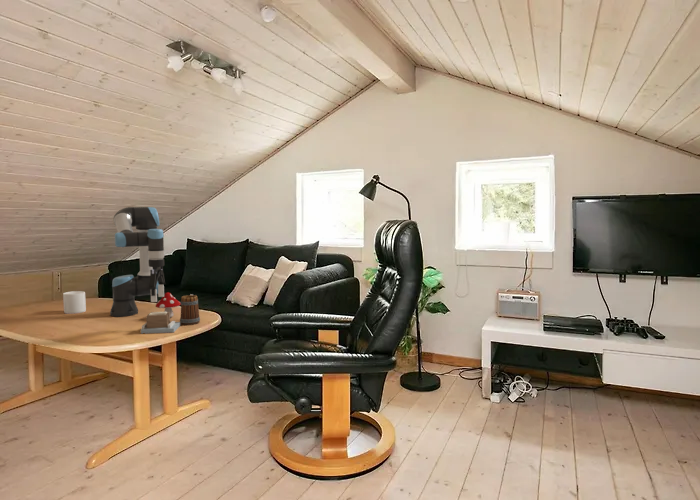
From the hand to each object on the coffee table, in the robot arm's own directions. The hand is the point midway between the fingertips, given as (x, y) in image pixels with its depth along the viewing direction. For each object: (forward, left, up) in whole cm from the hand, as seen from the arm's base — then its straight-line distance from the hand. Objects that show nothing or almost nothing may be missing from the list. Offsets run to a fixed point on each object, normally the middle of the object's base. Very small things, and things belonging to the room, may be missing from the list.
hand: (157, 299), depth 239 cm
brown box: (0, 0, -14) cm, 14 cm away
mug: (-16, +13, -16) cm, 26 cm away
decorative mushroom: (-29, -2, -16) cm, 33 cm away
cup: (-54, -64, -17) cm, 85 cm away
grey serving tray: (-1, +1, -16) cm, 16 cm away
